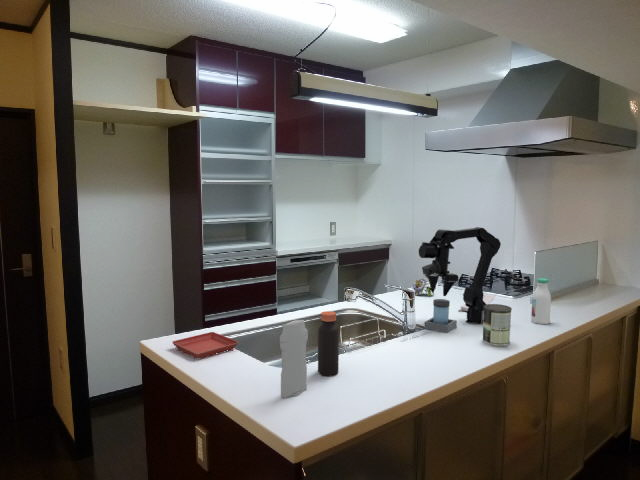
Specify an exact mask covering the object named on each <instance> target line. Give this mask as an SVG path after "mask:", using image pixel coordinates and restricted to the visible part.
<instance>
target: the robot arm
mask: <svg viewBox="0 0 640 480" xmlns="http://www.w3.org/2000/svg"><path fill="white" fill-rule="evenodd" d="M470 238H472V239H473V238H476V240H477V242H478V243H479V244H480V246H479V251H480V257H479V260H478V264H477V266H476V269H475V272H474V275H473V279H472V282H471V284H470V286H468V287H467V286H465V287H464V291H463V294H462V296H463V297H462V300H463V302H464V303H465V304H466V306H467V307H469V308H468V311H466V322H468V323H473V324H483V321H484V305H487V304H486V303H485V302H484V301H483V297H484V295H485V294H484V291H483V287H484V284H485V282H486V277H487V275H488V272H489V268H490V265H491V263H492V259H493V258H494V257H495V256H496V255H497V254H498V252H499V250H500V248H501V245H502V243H501V241H500V239H499V238H497V237H496V236H494V235H493V234H491V233H490V232H488V230H486V229H485V228H484V227H478V226H476V227H470V228H463V229H456V230H451V229H443V228H442V229H437V230H436V232H435V234H434V235H433V237H432V238H431V240H430V241H429V242H425V241H423V242H422V243H421V245H420V246H419V248H418V256H419V257H420V259H432V261H431V263H429V264H427V265H423V266H422V267H421V269H422V275H424V277H425V278H426V279H427V280H428V281H429V287H430V288H431V290H430V291H432V292H434V293H435V290H436V289H435V287H436V288H437V285H438V284H437V283H438V281H439V278H441V280H440V281H441V284H442V287H443V288H442V294H443V297H446V296H447V295H448V294H449V292H450V290H451V288H452V287H453V286H454V285H455V284H456V283H457V282H459V279H460V278H459V275H458V274H456V273H453V272H451V273H450V270H448V268H449V265H451V261H449V258H450V250H454V249H455V247H454V246H453V244H452V243H455V242H456V241H458V240H462V239H464V240H465V239H470ZM432 292H431V293H432ZM465 304H464V305H465Z"/></svg>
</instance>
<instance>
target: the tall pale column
mask: <svg viewBox="0 0 640 480" xmlns="http://www.w3.org/2000/svg"><path fill="white" fill-rule="evenodd" d="M308 337H309V334H308V329H307V328H306V324H305V320H304V319H299V320H298V319H296V320H292V321H290V322H287V323H284V324H283V328H282V333H281V334H280V336H279V349H281V350H280V351H281V352H280V353H281V372H280V398H281V399H288V398H291V396H292V397H297V396H299V395H301V394H302V393H304V392H306V391H307V388H308V383H307V382H308V378H307V377H308V375H307V374H308V367H307V363H306V362H307V361H306V360H307V357H306V355H307V342H308V339H309V338H308Z"/></svg>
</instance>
